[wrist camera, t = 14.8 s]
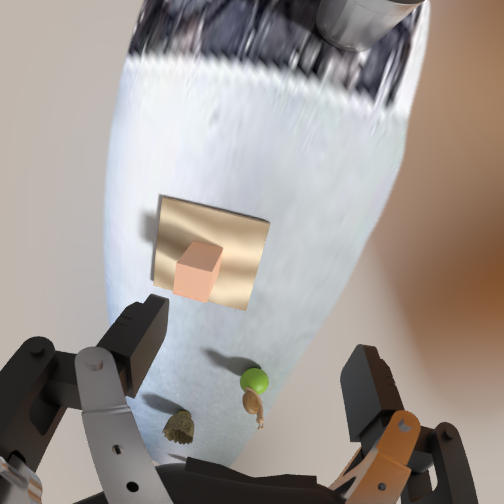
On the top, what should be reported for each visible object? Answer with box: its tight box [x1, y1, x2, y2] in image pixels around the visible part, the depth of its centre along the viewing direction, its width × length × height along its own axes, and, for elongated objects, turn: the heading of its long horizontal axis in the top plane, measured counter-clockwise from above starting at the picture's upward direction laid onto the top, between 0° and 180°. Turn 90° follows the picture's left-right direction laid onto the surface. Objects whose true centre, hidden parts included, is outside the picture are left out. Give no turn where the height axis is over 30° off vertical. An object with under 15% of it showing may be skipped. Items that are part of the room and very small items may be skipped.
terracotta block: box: [173, 241, 224, 303], centre depth 39 cm, size 5×5×8 cm
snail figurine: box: [240, 368, 269, 430], centre depth 47 cm, size 5×6×12 cm
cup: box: [162, 410, 194, 445], centre depth 57 cm, size 8×7×8 cm
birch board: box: [153, 197, 270, 311], centre depth 43 cm, size 15×16×1 cm
